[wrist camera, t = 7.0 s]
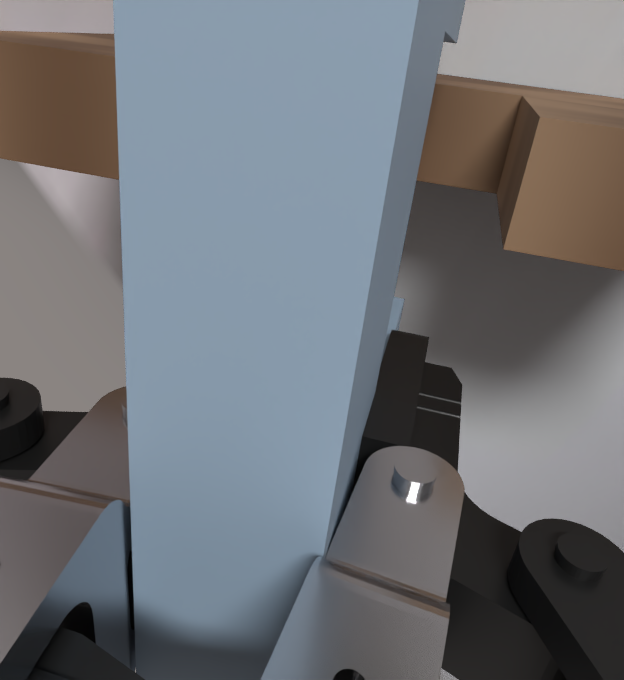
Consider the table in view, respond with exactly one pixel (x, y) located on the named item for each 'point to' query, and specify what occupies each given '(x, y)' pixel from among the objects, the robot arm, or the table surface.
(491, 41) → the table surface
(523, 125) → the walnut plate
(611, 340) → the table surface
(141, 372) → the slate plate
